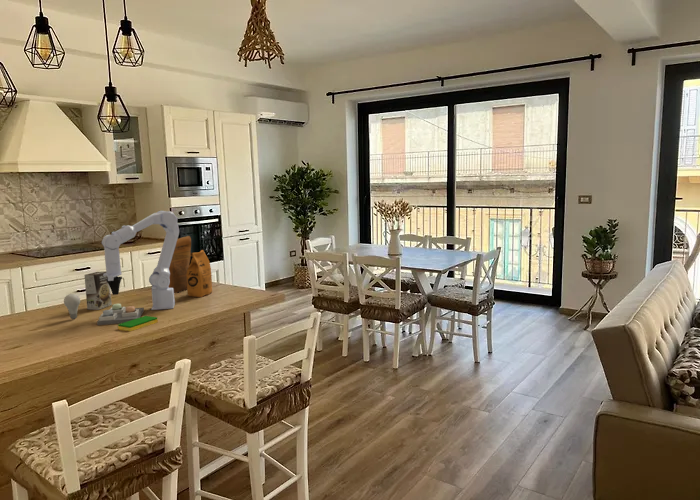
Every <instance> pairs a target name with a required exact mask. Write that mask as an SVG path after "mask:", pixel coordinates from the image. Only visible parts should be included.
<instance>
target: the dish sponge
mask: <svg viewBox="0 0 700 500" xmlns="http://www.w3.org/2000/svg"><path fill="white" fill-rule="evenodd" d="M158 322H159V321H158V317H156V316H151V315H150V316H149V315H144V316H141V317H140V318H137V319H134V320H131V321H127V322H124V323H119V324H117V329H118V330H119V331H125V332H132V331H133V332H134V331H135V330H139V329H142V328H146V327H148V326H150V325H151V326H152V325H154V324H157V323H158Z"/></svg>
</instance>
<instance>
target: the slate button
mask: <svg viewBox="0 0 700 500" xmlns="http://www.w3.org/2000/svg"><path fill="white" fill-rule="evenodd" d="M102 314H103V316H104V317H105V316H112V315H113V310H109V309H105V310H102Z"/></svg>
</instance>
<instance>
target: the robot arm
mask: <svg viewBox="0 0 700 500" xmlns="http://www.w3.org/2000/svg"><path fill="white" fill-rule="evenodd" d="M152 225H159V226H161V227H162V229H163V230H164V231H165V237H164V241H163V244H162V247H161V250H160V253H159V254H160V255H159V257H158V262H157V263H156V264H157V265H156V266H155V268H154V269H153V272H152V274H150V276H149V278H148V282H149V284H150V285H151V298H152V300H151V301H152V306H151V309H150V310H151V311H155V310H157V311H158V310H167V309H168V310H169V309H174V307H175V304H176V300H175V293H174V289H173V288H169V284H170V279H169V277H170V271H169V267H170V263H171V260H172V256H173V253H174V249H175V246H176V242H177V239H179V235H180V228H179V222H178V217H177V215H176V214H175V213H174V212H173V211H170V210H159V211H157V212H153V213H152V214H150V215H148V216H146V217H145V218H143V219H141V220H140V221H138V222H136V223H135V224H132V225H124V224H123V225H122V226H121V228H119V229H118V230H115V231H112V232H111V234H107V235H104V236H103V238H102V240H101V245H102V246H103V248H104V249H103V250H104V260H105V261H104V263H105V272H106V273H104V274H103V276H107V277H108V278H107V279H106V281H107V282H108V284H109V286H110V291H111V294H112V295H113V296H114V295H115V296H117V295H119V293H120V288H121V287H120V286H121V282H122V280H123V276H121V275H122V274H123V273H122V267H121V265H122V264H121V257H120V248H119V247H120V246H121V244H124V243H126V242H128V241H129V240H131V239H133V238H135V237H136V234H137V233H138V232H140V231H142V230H144V229H146V228H148V227H150V226H152Z"/></svg>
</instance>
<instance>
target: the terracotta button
mask: <svg viewBox="0 0 700 500" xmlns="http://www.w3.org/2000/svg"><path fill="white" fill-rule="evenodd" d="M125 308H126V313H131V312H135V308H136V306H135V305H131V306H130V305H129V306H125Z"/></svg>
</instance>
